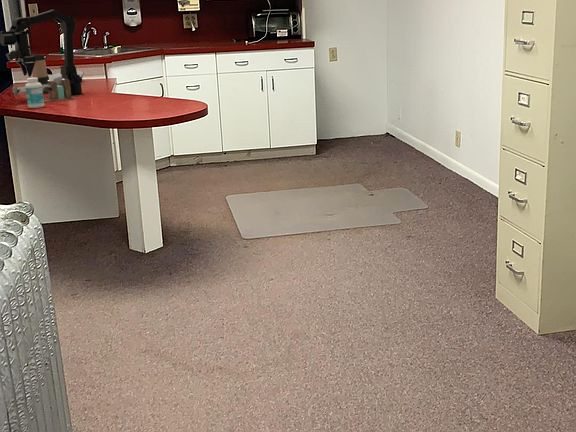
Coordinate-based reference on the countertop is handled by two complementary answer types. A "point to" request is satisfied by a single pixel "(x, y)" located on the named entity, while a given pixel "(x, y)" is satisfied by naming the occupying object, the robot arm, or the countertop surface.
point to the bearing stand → (54, 91)
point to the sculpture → (59, 77)
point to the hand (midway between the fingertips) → (27, 76)
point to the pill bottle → (34, 93)
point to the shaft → (22, 89)
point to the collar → (60, 92)
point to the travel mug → (40, 70)
